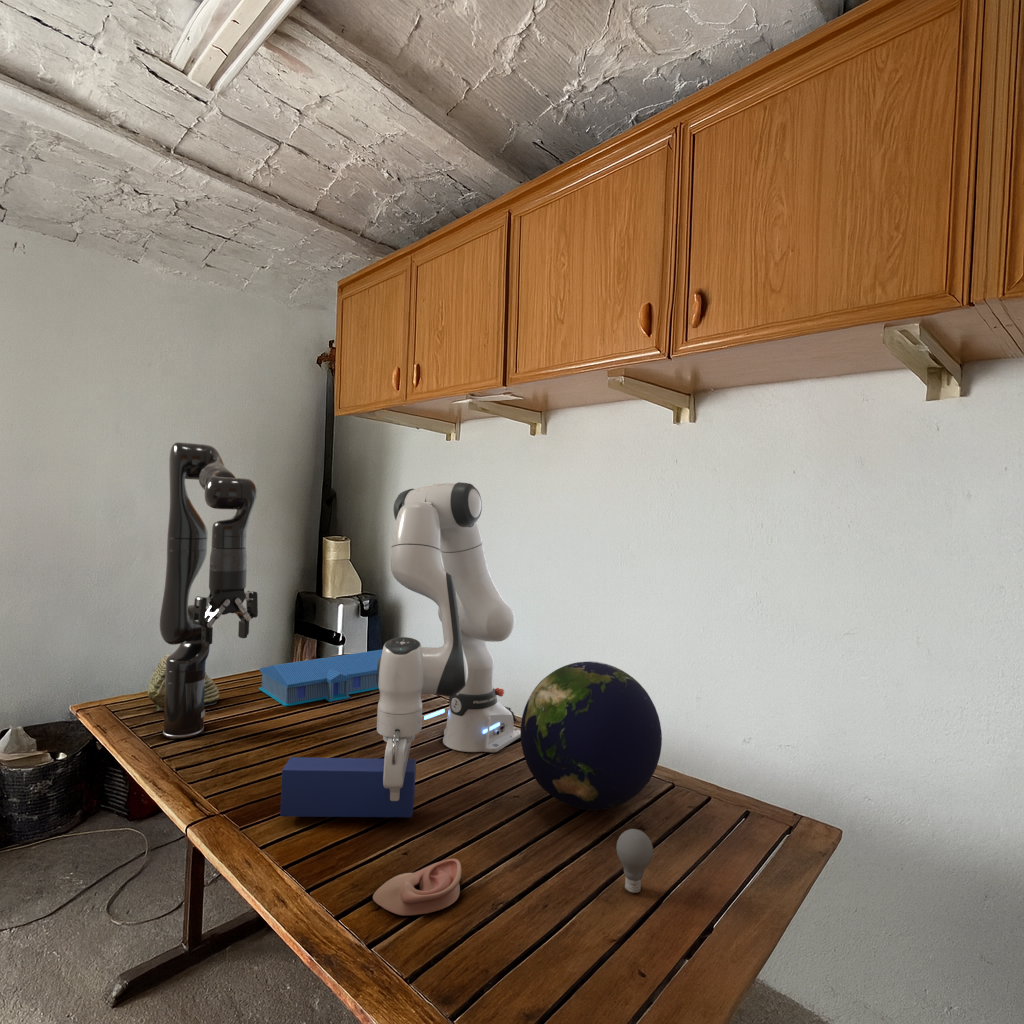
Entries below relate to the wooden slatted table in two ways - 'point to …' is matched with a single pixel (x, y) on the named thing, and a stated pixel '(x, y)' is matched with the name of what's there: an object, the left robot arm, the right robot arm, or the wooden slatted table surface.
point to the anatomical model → (421, 889)
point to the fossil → (158, 687)
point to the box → (343, 788)
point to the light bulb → (634, 857)
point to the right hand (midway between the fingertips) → (396, 790)
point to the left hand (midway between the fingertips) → (225, 640)
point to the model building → (321, 678)
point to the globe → (591, 735)
